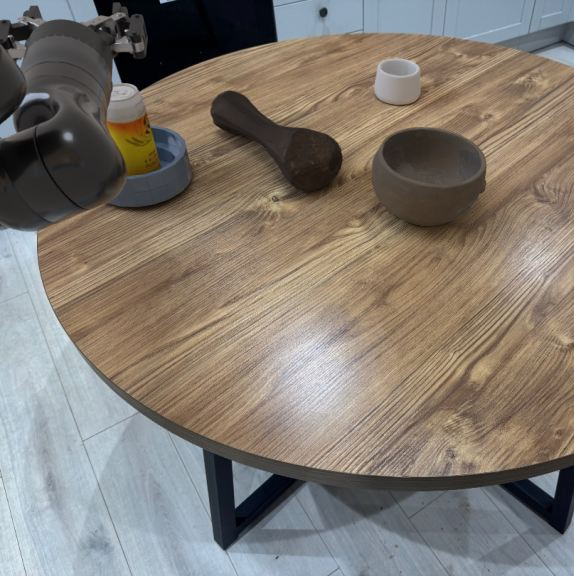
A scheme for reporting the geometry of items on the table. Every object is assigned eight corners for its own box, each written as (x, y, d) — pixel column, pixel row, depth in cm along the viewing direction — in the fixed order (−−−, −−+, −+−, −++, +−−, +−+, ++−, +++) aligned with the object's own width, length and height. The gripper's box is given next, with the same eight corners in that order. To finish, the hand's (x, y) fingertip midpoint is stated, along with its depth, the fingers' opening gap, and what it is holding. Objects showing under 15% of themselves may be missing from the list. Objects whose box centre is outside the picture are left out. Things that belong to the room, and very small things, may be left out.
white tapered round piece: (403, 111, 115) (406, 82, 110) (364, 96, 118) (365, 68, 114) (434, 90, 122) (437, 62, 118) (396, 76, 125) (398, 49, 121)
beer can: (160, 188, 91) (136, 101, 81) (121, 190, 91) (91, 101, 80) (165, 167, 95) (143, 81, 85) (127, 168, 95) (100, 82, 84)
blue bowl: (80, 210, 88) (66, 177, 84) (110, 155, 99) (100, 123, 94) (181, 212, 89) (173, 179, 84) (201, 157, 99) (194, 126, 95)
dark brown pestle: (337, 199, 96) (242, 149, 112) (355, 138, 93) (254, 95, 108) (288, 195, 88) (192, 141, 103) (306, 127, 85) (204, 82, 100)
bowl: (492, 194, 96) (504, 142, 89) (454, 256, 85) (464, 201, 78) (399, 165, 101) (404, 113, 94) (351, 219, 89) (352, 165, 82)
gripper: (137, 32, 53) (136, -25, 64) (-35, 41, 50) (-6, -21, 61) (155, 106, 59) (151, 42, 69) (0, 119, 55) (22, 49, 66)
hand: (78, 12), depth 65 cm, fingers open, 8 cm apart
